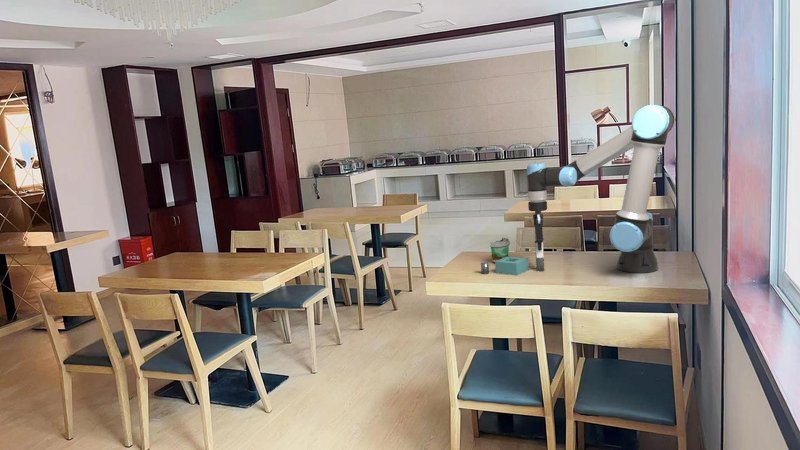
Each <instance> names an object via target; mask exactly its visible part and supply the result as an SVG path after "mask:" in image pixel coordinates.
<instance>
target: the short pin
mask: <svg viewBox="0 0 800 450" xmlns="http://www.w3.org/2000/svg"><path fill="white" fill-rule="evenodd" d="M489 264H490V263H489V262H486V261H484V262H481V263H480V269H481V270H480V271H481V272H480V273H481V274H482V275H489V274H490V267H489V266H490V265H489Z"/></svg>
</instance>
